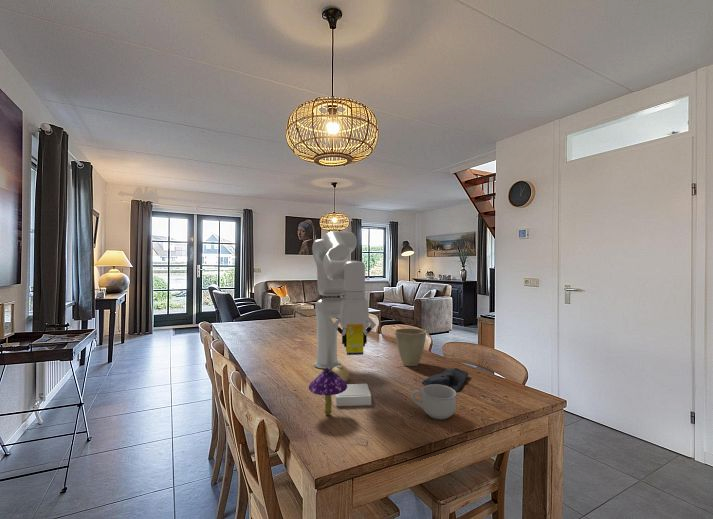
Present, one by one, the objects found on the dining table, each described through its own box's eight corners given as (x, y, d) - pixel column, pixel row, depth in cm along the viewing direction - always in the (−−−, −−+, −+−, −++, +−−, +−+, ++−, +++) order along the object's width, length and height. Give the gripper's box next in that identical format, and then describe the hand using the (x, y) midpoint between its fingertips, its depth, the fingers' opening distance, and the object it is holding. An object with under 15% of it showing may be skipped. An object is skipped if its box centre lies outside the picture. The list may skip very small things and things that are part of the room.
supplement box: (345, 350, 124) (345, 320, 124) (361, 350, 125) (361, 320, 125) (346, 355, 118) (346, 324, 118) (363, 354, 119) (363, 323, 119)
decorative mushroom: (304, 423, 103) (305, 373, 103) (312, 405, 115) (312, 361, 115) (345, 424, 102) (345, 374, 102) (348, 406, 114) (348, 362, 115)
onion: (325, 383, 137) (325, 365, 137) (336, 377, 144) (336, 360, 144) (343, 386, 133) (343, 368, 134) (352, 380, 140) (352, 363, 141)
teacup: (457, 410, 111) (457, 386, 111) (455, 425, 101) (455, 398, 101) (414, 404, 116) (414, 381, 116) (409, 418, 106) (409, 393, 106)
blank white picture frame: (335, 392, 127) (335, 384, 127) (367, 391, 128) (367, 383, 128) (336, 406, 115) (336, 397, 115) (371, 405, 116) (371, 395, 116)
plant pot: (430, 362, 165) (430, 329, 165) (419, 370, 152) (419, 335, 153) (402, 358, 173) (402, 326, 173) (389, 365, 160) (389, 331, 161)
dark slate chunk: (474, 378, 144) (474, 367, 144) (456, 394, 126) (456, 382, 126) (440, 371, 153) (440, 361, 153) (418, 386, 135) (418, 374, 135)
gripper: (330, 297, 117) (330, 349, 117) (380, 296, 119) (379, 348, 119) (330, 294, 124) (329, 343, 124) (376, 294, 126) (376, 342, 126)
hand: (354, 345), depth 122 cm, fingers closed on supplement box, 6 cm apart
